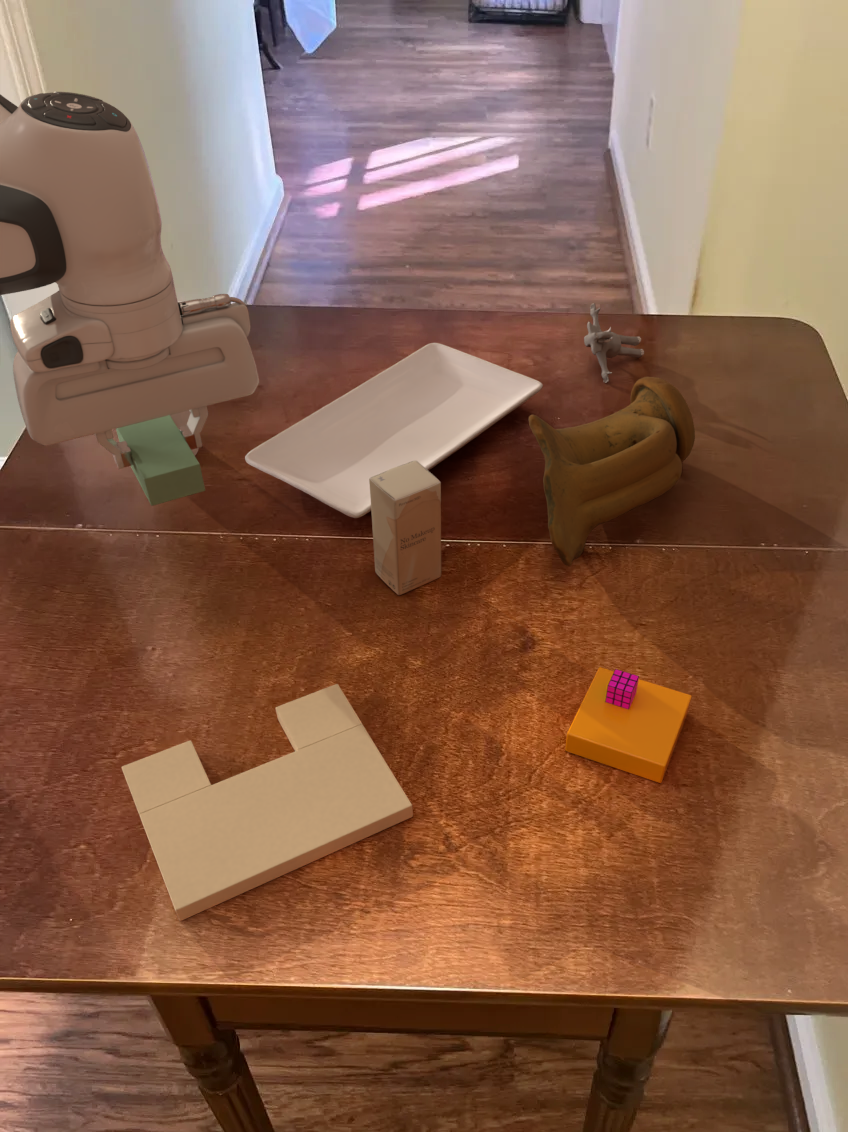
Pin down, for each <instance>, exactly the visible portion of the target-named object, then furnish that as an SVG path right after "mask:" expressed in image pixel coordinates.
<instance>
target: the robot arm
mask: <svg viewBox="0 0 848 1132" xmlns="http://www.w3.org/2000/svg"><path fill="white" fill-rule="evenodd" d="M147 159H148V158H147V156H146V153H145V150H144V148H143V145H142V142H141V140H140V137H139V135H138V133H137V131H136V128H135V127H134V125H133V123H132V122H131V121H130V119H129V118H128V117H127V115H125V114H124V112H122V111H121V110H119V108H116V107H115V105H111V104H110V103H108V102H106V101H103V99H100V98H97V97H95V96H91V95H87V94H83V93H77V92H72V91H71V92H70V91H54V92H42V93H41V92H40V93H37V94H32V95H30V96H28V97H26V98H24V99H23V100H22V101H21V103H20V104H19V105H18V106H17V105H16V104H14V103H13V102H11V101H10V100H9V99H8V98H6V97H5V96H3V95H2V94H0V296H4V295H9V294H15V293H20V292H26V291H31V290H35V289H39V288H43V287H47V286H50V285H52V284H57V287H58V290H57V291H56V292H54V293H52V294H51V295H49V296H47V297H46V298H44V299H42V300H40V301H39V302H37V303H35V304H32V305H31V306H30V307H27V308H25V309H24V310H21V311H20V312H18V313H16V314H15V315H13V316H12V317H11V319H10V324H9V325H10V332H11V336H12V340H13V342H14V345H15V347H16V350H17V352H16V353H15V356H14V357H13V362H12V371H13V372H12V374H13V381H14V388H15V393H16V397H17V403H18V406H19V409H20V413H21V417H22V419H23V423H24V425H25V427H26V431H27V433H28V435H29V436H30V439H31V440H33V441H34V442H35V443H37V444H38V445H41V446H44V447H48V446H53V445H55V444H59V443H64V442H68V441H72V440H76V439H80V438H84V437H88V436H91V435H94V437H95V439H96V441H97V442H98V444H100V445H101V446H102V447H103V448H104V449H106V450H107V451H108V452H109V453H110V454H111V455H112V458H113V460H114V463H115V465H116V467H117V469H118V470H120V469H121V470H122V469H125V468H129V467H131V466H132V465H134V463H133V460H132V452H131V450H130V448H129V447H128V444H127V442H126V441H122V442H119V441H118V442H117V441H116V440H115V439H114V434H113V430H116V428H120V427H124V426H128V425H132V424H136V423H140V422H144V421H148V420H152V419H156V418H160V417H164V416H168V415H172V414H176V413H180V412H184V411H188V410H189V411H190V412H191V413H190V416H189V419H188V422H187V425H185V426H181V427H179V432H180V433H181V435H182V436H183V438H184V440H185V441H186V442H187V444H188V446H189V447H190V449H191V450H192V449H196V448H199V449H201V448H202V447H203V443H202V437H201V433H202V431H203V429H204V427H205V424H206V422H207V419H208V417H209V411H208V406H212V405H216V404H220V403H223V402H227V401H232V400H235V399H236V400H237V399H239V398H244V397H248V396H252V395H253V394H254V393H255V392H256V389H257V388H258V386H259V384H260V379H259V372H258V368H257V365H256V364H257V363H256V361H255V357H254V354H253V350H252V348H251V345H250V341H249V340H248V337H249V335H250V332H251V325H252V323H251V318H250V312H249V308H248V306H247V304H246V303H245V302H244V301H243V300H242V299H240V298H238V297H234V296H230V295H229V294H228V293H218V294H214V295H212V296H209V297H205V298H196V299H189V300H185V301H180V302H178V297H177V292H176V286H175V281H174V276H173V271H172V268H171V265H170V263H169V261H168V259H167V258H166V256H165V253H164V251H163V247H162V241H161V240H162V239H161V238H162V223H163V222H162V215H161V212H160V207H159V202H158V198H157V194H156V193H157V192H156V189H155V185H154V180H153V176H152V173H151V170H150V166H149V162H148V160H147Z"/></svg>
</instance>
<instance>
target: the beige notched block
mask: <svg viewBox="0 0 848 1132" xmlns="http://www.w3.org/2000/svg"><path fill="white" fill-rule="evenodd" d="M275 713H276V717H277V720H278V722H279V724H280V726H281V728H282V730H283V731H284V734H285V735H286V738H287V739H288V741H289V743H290V745H291V747H292V749H293V750H294V751H293V752H291V753H287V754H285V755H283V756H280V757H278V758H276V759H273V760H270V761H268V762H266V763H263V764H260V765H258V766H256V767H253V768H251V769H249V770H245V771H243V772H240V773H238V774H235V775H233V776H230V777H229V778H226V779H223V780H221V781H219V782H216V783H213V784H212V783H211V781H210V779H209V777H208V775H207V772H206V770H205V768H204V766H203V763H202V761H201V759H200V756H199V754H198V752H197V749H196V748H195V745H194V743H193V741H192V740H191V739H190V740H187V741H184V742H182V743H179V744H177V745H174V746H171V747H169V748H167V749H164V750H161V751H158V752H156V753H153V754H151V755H148V756H146V757H143V758H141V759H138V760H135V761H132V762H130V763H127V764H124V765H122V766H121V771H122V773H123V775H124V778H125V781H126V784H127V786H128V790H129V792H130V794H131V797H132V800H133V803H134V805H135V808H136V810H137V813H138V815H139V819H140V821H141V823H142V826H143V829H144V832H145V834H146V836H147V839H148V842H149V845H150V848H151V850H152V853H153V855H154V858H155V860H156V863H157V866H158V868H159V871H160V874H161V876H162V877H161V878H162V879H163V883H164V885H165V887H166V889H167V892H168V895H169V898H170V900H171V903H172V907H173V909H174V911H175V913H176V916H177V918H178V921H179V922H182V921H184V920H186V919H189V918H191V917H193V916H195V915H197V914H199V913H202V912H204V911H207V910H209V909H211V908H213V907H215V906H217V905H219V904H222V903H224V902H227V901H229V900H231V899H233V898H235V897H238V896H240V895H242V894H244V893H247V892H249V891H251V890H254V889H255V888H257V887H260V886H262V885H264V884H266V883H268V882H272V881H273V880H275V879H278V878H279V877H282V876H284V875H286V874H289V873H291V872H293V871H295V870H297V869H300V868H302V867H304V866H307V865H308V864H310V863H313V862H315V861H318V860H320V859H322V858H324V857H326V856H328V855H330V854H333V853H335V852H337V851H339V850H342V849H344V848H346V847H348V846H351V845H353V844H356V843H358V842H359V841H360V842H361V841H362V840H364V839H367V838H368V837H370V836H373V835H376V834H377V833H380V832H382V831H384V830H387V829H389V828H391V827H393V826H395V825H398V824H399V823H402V822H405V821H407V820H408V819H409V820H410V819H411V818H413V817H414V811H413V809H414V808H413V804H412V802H411V801H410V799H409V796H407V794H406V793H405V791H404V789H403V787H402V786H401V784H400V782H399V781H398V780H397V778H396V776H395V775H394V773H393V771H392V770H391V768H390V767H389V764H388V763H387V762H386V760H385V758H384V756H383V755H382V753H381V752H380V751H379V748H378V746H377V745H376V744H375V742H374V741H373V739H372V737H371V735H370V734H369V732H368V731H367V729H366V727H365V726H364V724H363V722H362V721H361V720H360V718H359V716H358V714H357V713H356V711H355V710H354V708H353V706H352V704H351V703H350V701H349V700H348V698H347V696H346V695H345V693H344V692H343V689H342V688H341V687H340V685H339V683H336V684H333V685H329V686H328V687H325V688H322V689H319V690H317V691H315V692H312V693H309V694H307V695H304V696H302V697H299V698H296V699H293V700H291V701H288V702H286V703H283V704H281V705H278V706H276V707H275Z"/></svg>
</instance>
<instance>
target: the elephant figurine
mask: <svg viewBox="0 0 848 1132" xmlns="http://www.w3.org/2000/svg"><path fill="white" fill-rule="evenodd" d="M601 308H602V307H598V308H596V303H595V302H594V303H591V304H590V307H589V309H590V311H589V313H590V317H591V318H592V321H593V323H592V322H591V321H587V324H586V328H587V332H588V333H587V334H585V336H584V337H583V343H584V345H585V347H586V348H590V351H591V353H592V354H593V355H594V356H596V358H597V362H598V364H599V366H600V368H601V378H602V380H603V383H605V384H608V383H609V382H610V378H609V376H610V375H611V374H613V371H610V370H609V368H608V363H607V359H613V358H616V356H619V357H621V356H623V357H631V358H634V359H640V358H642V357H643V356H644V354H645V350H644V349H643V348H634V347H636V346H638V345H640V343H641V342H642V338H641V336H632V335H631V336H629V335H622V334H618V333H616V332H613V331H612V327H611V326H610V327H609V329H608V330H605V331H603V330H602V329H601V325H600V322H599V313H600V310H602V309H601ZM622 345H627V346H634V347H627V346H622Z"/></svg>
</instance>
